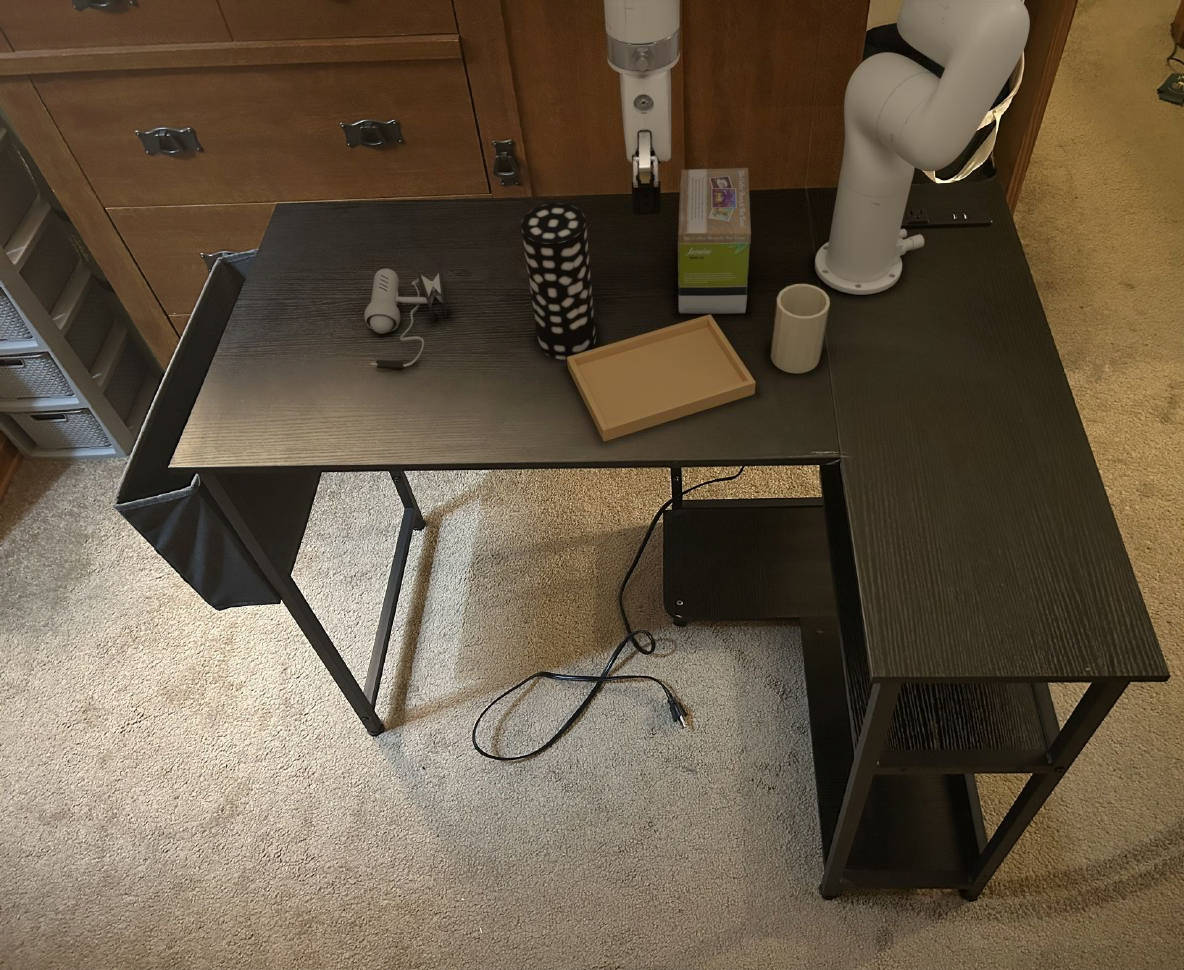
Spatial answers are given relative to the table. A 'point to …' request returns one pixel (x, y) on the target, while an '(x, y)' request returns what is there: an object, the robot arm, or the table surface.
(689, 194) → the tea box
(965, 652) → the table surface
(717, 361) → the tray
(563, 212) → the spotted tube
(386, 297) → the clip-on lamp
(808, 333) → the cup
